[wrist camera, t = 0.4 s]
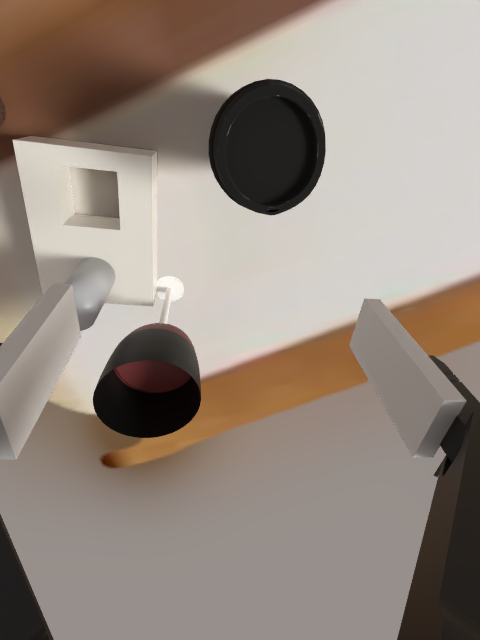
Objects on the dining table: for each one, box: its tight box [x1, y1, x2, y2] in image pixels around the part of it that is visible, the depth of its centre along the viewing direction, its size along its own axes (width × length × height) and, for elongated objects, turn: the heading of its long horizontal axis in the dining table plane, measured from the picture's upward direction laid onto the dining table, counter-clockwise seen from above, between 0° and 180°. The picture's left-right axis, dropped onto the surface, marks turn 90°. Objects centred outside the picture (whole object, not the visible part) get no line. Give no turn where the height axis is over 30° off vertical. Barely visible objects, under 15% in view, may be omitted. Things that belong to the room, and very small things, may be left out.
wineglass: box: [93, 276, 201, 438], centre depth 36 cm, size 8×9×20 cm
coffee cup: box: [209, 79, 325, 215], centre depth 30 cm, size 8×8×15 cm
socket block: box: [13, 136, 157, 331], centre depth 34 cm, size 16×12×12 cm
